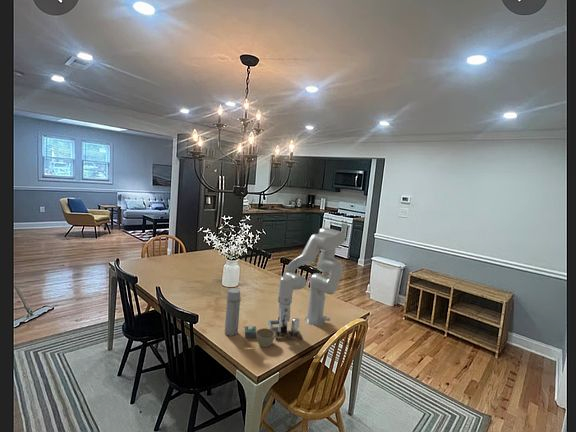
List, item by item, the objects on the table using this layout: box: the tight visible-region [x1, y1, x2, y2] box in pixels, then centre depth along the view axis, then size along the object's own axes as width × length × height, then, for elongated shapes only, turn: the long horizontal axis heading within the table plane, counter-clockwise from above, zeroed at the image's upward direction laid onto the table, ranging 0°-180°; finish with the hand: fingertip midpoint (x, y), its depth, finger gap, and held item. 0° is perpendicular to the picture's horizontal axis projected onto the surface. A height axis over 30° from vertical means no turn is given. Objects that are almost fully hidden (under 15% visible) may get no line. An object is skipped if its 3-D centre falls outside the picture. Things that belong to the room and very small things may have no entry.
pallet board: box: [273, 329, 303, 341], centre depth 171 cm, size 14×7×3 cm, turn 101°
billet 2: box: [290, 317, 300, 337], centre depth 171 cm, size 4×4×10 cm
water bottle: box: [224, 287, 242, 337], centre depth 169 cm, size 9×8×25 cm
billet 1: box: [277, 319, 285, 337], centre depth 170 cm, size 4×4×10 cm
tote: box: [268, 319, 279, 331], centre depth 181 cm, size 8×8×3 cm
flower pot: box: [256, 327, 275, 348], centre depth 162 cm, size 10×10×7 cm
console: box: [244, 325, 257, 339], centre depth 170 cm, size 6×6×4 cm
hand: (282, 328), depth 169 cm, fingers open, 9 cm apart
